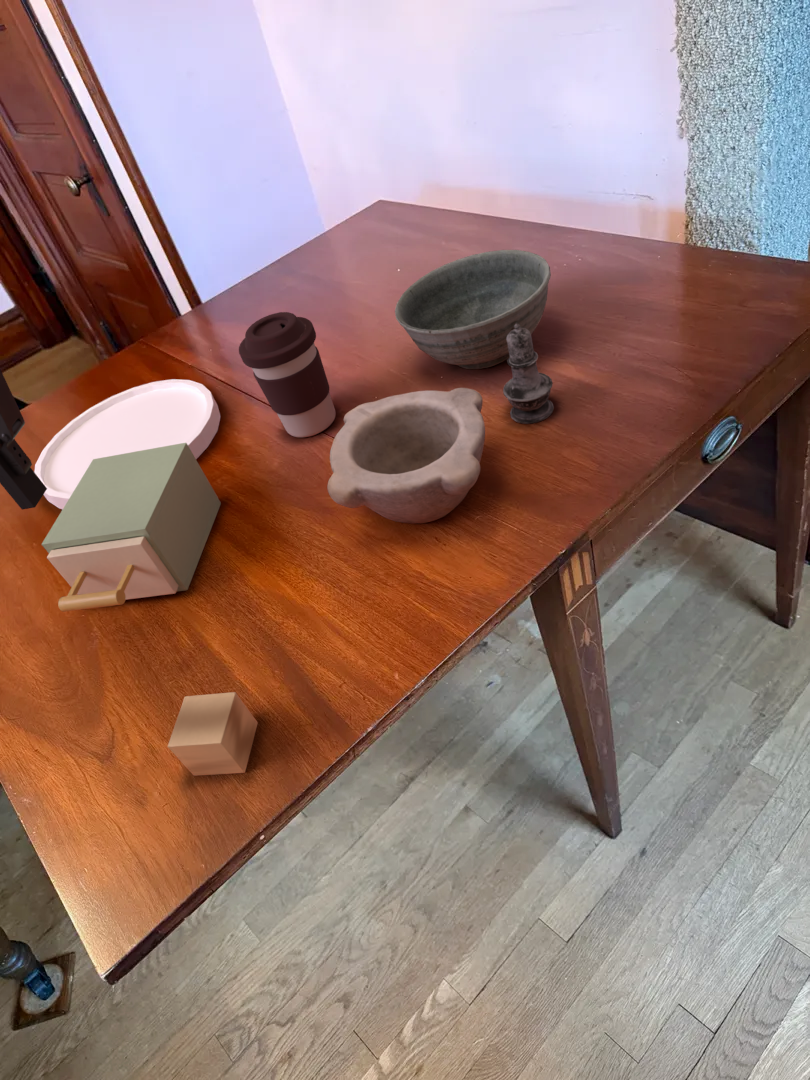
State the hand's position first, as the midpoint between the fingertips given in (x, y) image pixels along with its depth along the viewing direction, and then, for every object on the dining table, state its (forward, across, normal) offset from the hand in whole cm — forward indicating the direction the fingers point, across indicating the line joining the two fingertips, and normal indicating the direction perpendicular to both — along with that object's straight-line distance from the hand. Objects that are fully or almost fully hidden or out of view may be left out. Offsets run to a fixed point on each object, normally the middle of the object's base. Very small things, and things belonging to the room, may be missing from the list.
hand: (34, 498), depth 72 cm
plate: (+18, +13, -34) cm, 41 cm away
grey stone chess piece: (+18, -46, -26) cm, 56 cm away
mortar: (+18, -34, -13) cm, 40 cm away
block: (+18, -17, +18) cm, 30 cm away
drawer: (+17, 0, -6) cm, 18 cm away
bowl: (+18, -40, -42) cm, 61 cm away
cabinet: (+18, 0, -10) cm, 21 cm away
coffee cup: (+18, -16, -32) cm, 40 cm away
